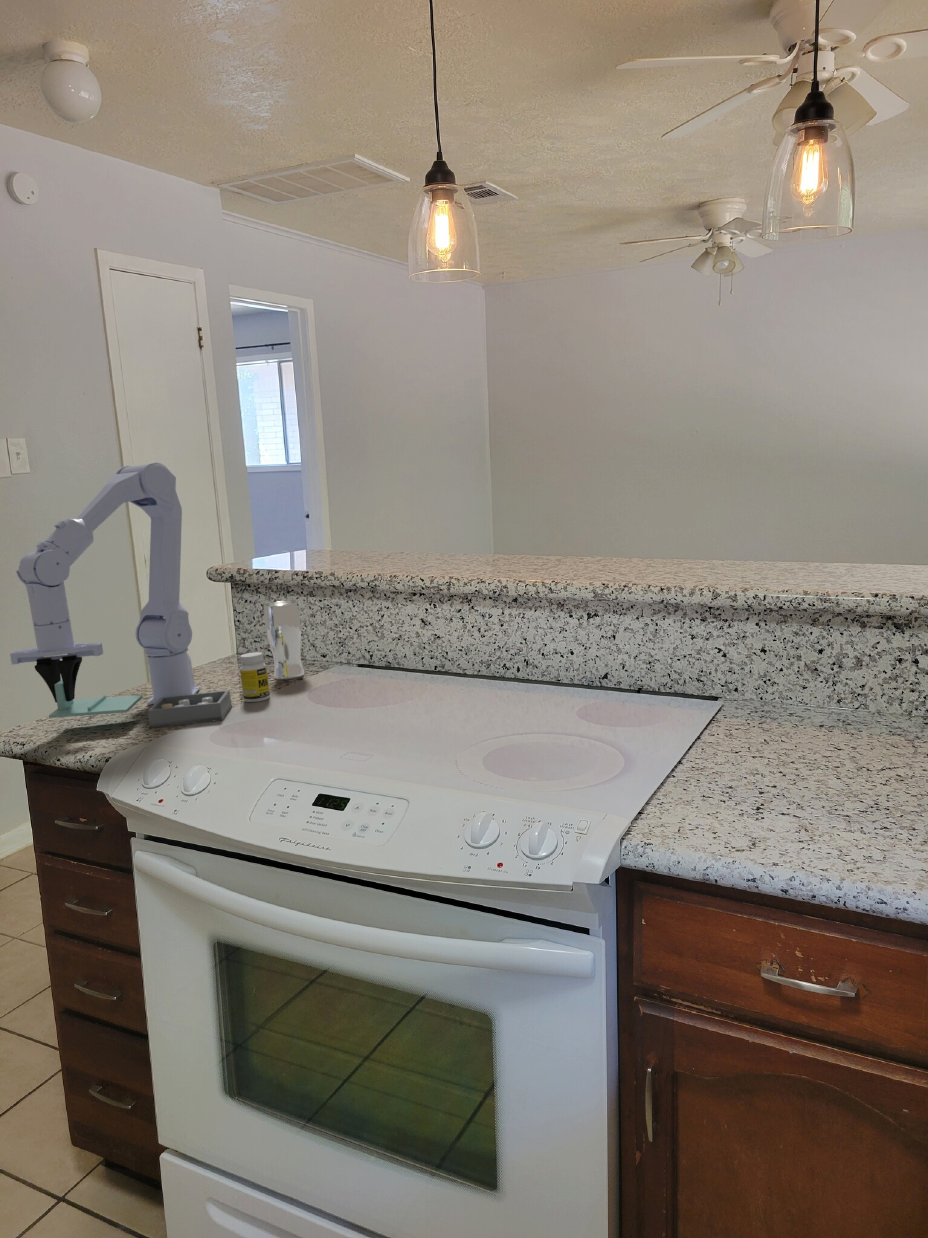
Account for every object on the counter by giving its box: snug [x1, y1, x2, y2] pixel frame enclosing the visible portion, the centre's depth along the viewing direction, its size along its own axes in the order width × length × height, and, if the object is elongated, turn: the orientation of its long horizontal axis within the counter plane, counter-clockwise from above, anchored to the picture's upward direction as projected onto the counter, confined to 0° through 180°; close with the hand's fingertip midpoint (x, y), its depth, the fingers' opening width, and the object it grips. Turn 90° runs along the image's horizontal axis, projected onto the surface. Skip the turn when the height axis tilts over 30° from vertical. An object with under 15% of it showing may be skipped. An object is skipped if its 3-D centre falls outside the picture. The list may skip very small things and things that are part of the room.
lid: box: [48, 679, 143, 719], centre depth 151 cm, size 10×13×5 cm
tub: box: [147, 690, 233, 729], centre depth 153 cm, size 9×12×3 cm
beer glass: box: [263, 599, 305, 681], centre depth 178 cm, size 7×7×15 cm
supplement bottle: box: [239, 651, 271, 703], centre depth 161 cm, size 5×5×8 cm
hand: (65, 700), depth 151 cm, fingers closed on lid
